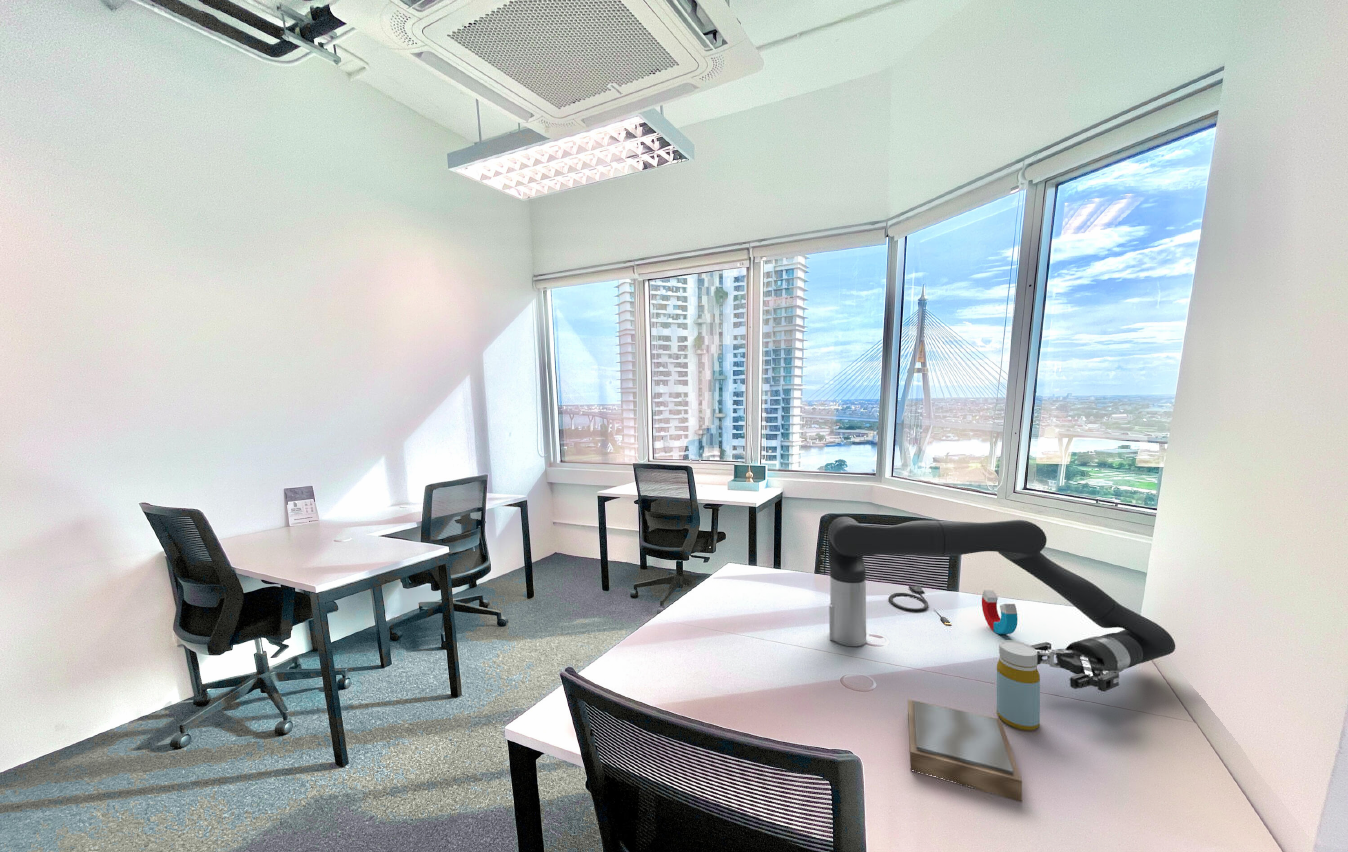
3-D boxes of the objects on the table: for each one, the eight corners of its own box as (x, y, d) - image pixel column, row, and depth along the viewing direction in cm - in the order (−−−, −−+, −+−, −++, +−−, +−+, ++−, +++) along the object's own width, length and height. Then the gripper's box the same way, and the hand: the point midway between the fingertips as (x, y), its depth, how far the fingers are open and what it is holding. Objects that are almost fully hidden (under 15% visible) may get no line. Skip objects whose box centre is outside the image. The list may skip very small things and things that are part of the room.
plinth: (910, 770, 82) (910, 748, 82) (908, 715, 96) (907, 696, 96) (1021, 801, 75) (1021, 777, 75) (1001, 737, 89) (1001, 716, 89)
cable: (901, 623, 137) (901, 619, 137) (879, 587, 165) (879, 583, 165) (952, 627, 135) (952, 622, 134) (920, 589, 162) (920, 585, 162)
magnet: (1017, 642, 124) (1018, 605, 124) (1007, 642, 125) (1007, 605, 124) (991, 621, 136) (991, 588, 136) (981, 621, 136) (981, 588, 136)
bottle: (988, 710, 97) (988, 640, 97) (1019, 707, 98) (1019, 638, 97) (1015, 733, 90) (1015, 658, 90) (1048, 730, 91) (1049, 655, 90)
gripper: (1062, 625, 109) (1014, 638, 104) (1139, 655, 96) (1089, 672, 90) (1061, 657, 109) (1013, 671, 104) (1139, 691, 96) (1088, 710, 91)
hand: (1048, 671), depth 97 cm, fingers open, 8 cm apart
